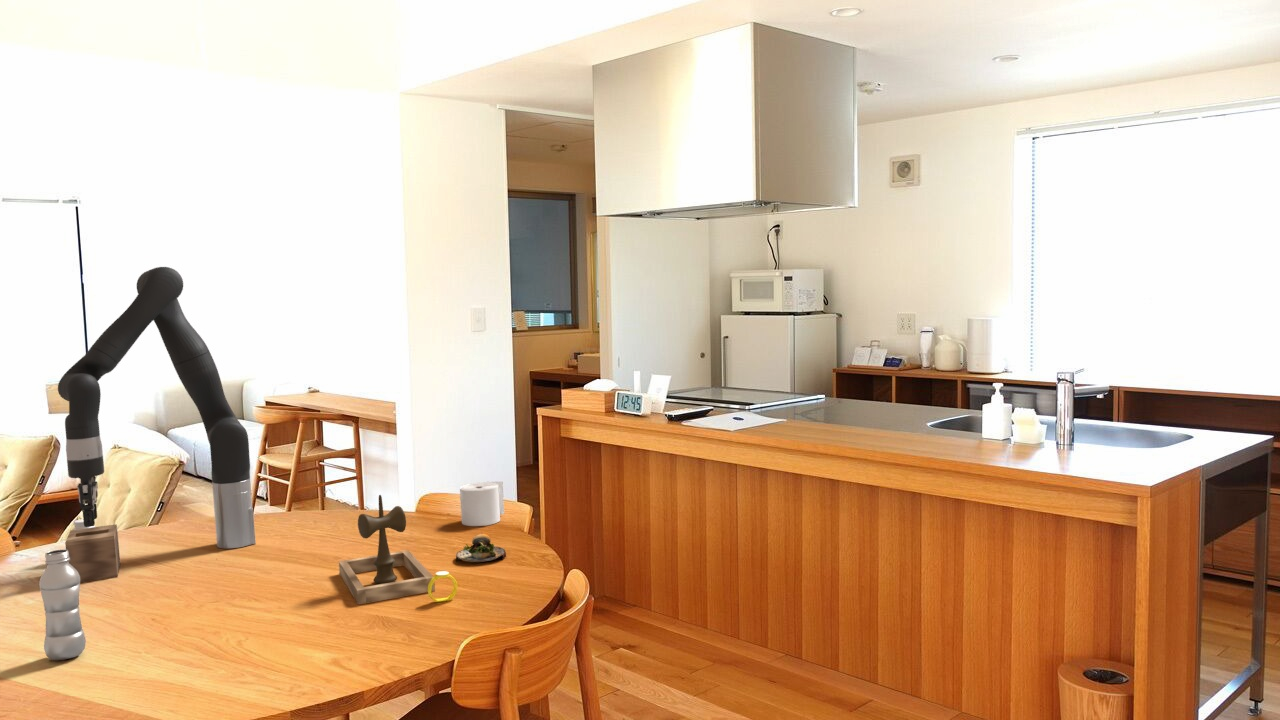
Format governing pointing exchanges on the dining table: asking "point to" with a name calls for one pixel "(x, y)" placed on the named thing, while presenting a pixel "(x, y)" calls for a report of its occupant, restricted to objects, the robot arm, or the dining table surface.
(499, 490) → the toilet tissue
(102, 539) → the walnut tissue box
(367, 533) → the kendama
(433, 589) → the wooden frame
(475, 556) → the burger
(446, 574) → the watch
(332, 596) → the dining table surface
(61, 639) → the plastic bottle
